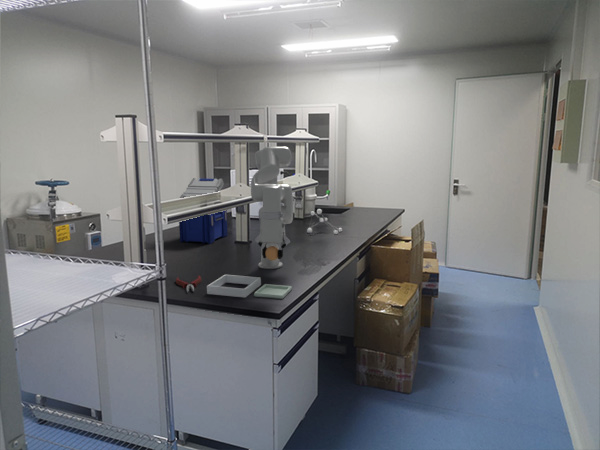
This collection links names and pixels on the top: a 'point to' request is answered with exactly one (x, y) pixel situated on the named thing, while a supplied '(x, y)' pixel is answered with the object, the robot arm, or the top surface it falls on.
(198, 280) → the pliers
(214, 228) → the storage box
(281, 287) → the tray
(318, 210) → the molecule model
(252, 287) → the grey square frame
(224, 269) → the top surface
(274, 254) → the ball
